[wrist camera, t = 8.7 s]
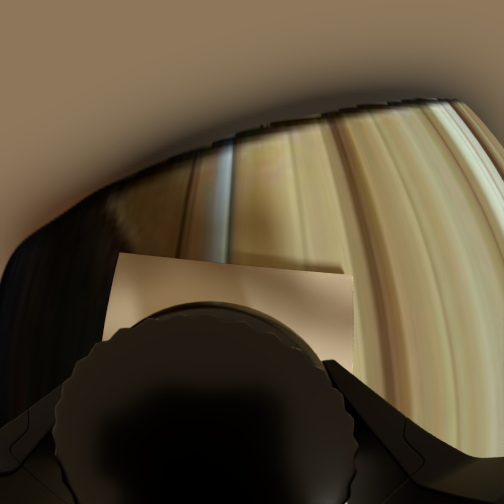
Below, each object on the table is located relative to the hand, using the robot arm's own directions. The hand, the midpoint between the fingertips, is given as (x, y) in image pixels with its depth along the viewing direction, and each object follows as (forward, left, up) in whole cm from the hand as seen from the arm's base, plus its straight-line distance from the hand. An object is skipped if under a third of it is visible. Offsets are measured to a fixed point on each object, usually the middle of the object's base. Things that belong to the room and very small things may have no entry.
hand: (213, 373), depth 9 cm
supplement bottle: (-1, 0, -7) cm, 7 cm away
